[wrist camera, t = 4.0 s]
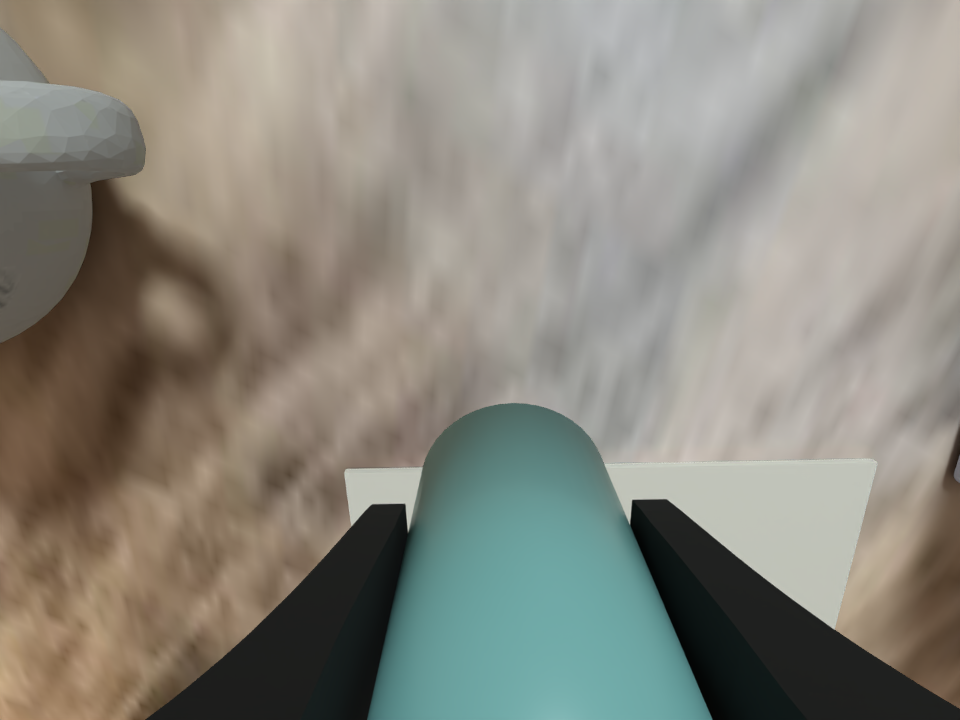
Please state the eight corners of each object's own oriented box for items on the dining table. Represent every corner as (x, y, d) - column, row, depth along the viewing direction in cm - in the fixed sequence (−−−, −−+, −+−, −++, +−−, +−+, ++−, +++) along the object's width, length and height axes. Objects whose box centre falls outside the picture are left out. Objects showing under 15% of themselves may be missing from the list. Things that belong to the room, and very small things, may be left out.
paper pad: (872, 458, 19) (878, 463, 19) (805, 722, 24) (809, 729, 24) (346, 468, 20) (343, 473, 19) (379, 726, 24) (377, 734, 24)
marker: (603, 380, 11) (961, 982, 3) (593, 535, 13) (818, 1260, 4) (418, 384, 11) (217, 983, 3) (428, 538, 13) (314, 1256, 4)
